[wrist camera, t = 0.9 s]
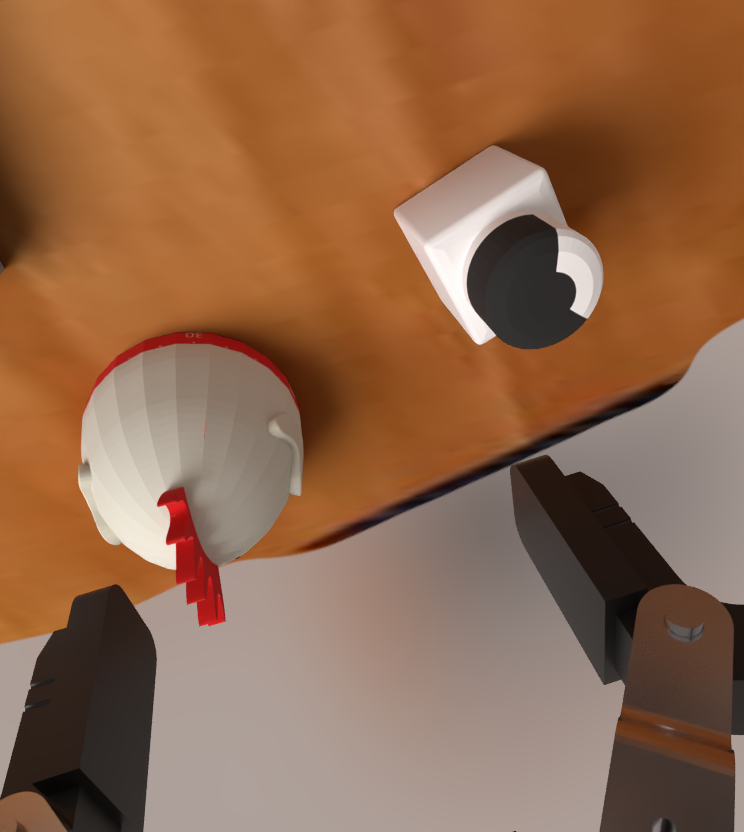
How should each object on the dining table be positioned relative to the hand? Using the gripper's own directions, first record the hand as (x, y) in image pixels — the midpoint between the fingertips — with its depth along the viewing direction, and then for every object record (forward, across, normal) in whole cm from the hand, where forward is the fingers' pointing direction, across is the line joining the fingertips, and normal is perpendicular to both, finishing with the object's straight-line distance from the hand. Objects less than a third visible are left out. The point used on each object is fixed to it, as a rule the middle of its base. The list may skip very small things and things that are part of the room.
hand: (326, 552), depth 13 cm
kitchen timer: (+28, +8, +14) cm, 33 cm away
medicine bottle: (+29, -12, +5) cm, 32 cm away
